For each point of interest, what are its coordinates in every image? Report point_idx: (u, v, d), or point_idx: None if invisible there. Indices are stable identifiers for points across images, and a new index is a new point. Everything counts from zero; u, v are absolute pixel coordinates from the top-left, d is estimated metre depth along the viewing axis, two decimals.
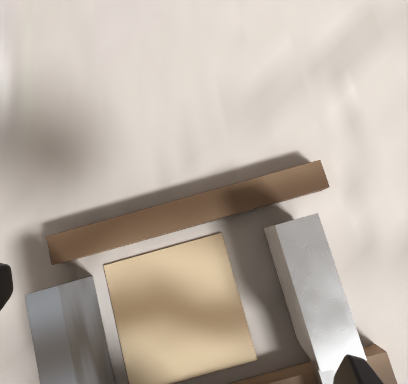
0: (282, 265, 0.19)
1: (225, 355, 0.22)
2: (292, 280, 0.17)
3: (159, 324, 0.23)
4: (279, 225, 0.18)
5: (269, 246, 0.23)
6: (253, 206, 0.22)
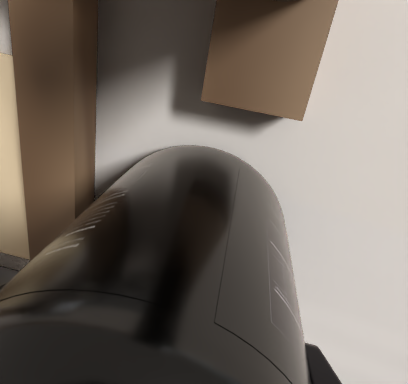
0: None
1: None
2: None
3: None
4: None
5: None
6: None
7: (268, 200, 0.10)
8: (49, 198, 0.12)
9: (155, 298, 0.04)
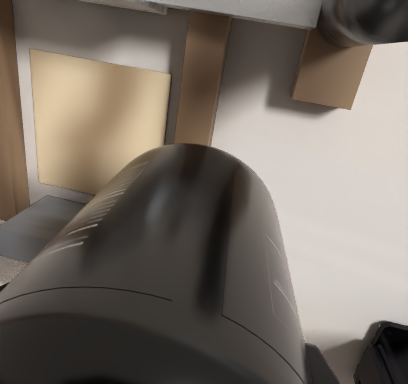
0: None
1: (154, 107, 0.20)
2: None
3: (105, 157, 0.22)
4: None
5: None
6: None
7: (262, 196, 0.10)
8: None
9: (164, 293, 0.04)
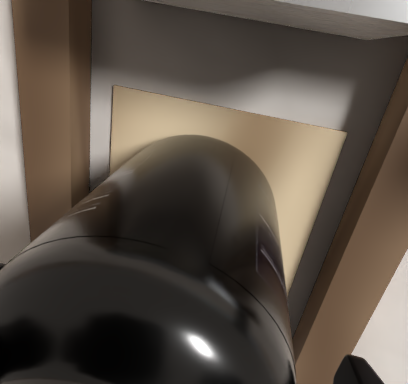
0: None
1: (307, 178, 0.12)
2: None
3: None
4: None
5: (165, 3, 0.11)
6: None
7: (260, 183, 0.11)
8: (367, 267, 0.12)
9: (161, 243, 0.05)
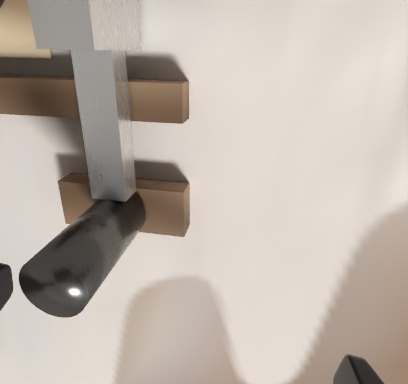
0: None
1: (15, 41, 0.18)
2: None
3: None
4: None
5: None
6: None
7: None
8: None
9: None
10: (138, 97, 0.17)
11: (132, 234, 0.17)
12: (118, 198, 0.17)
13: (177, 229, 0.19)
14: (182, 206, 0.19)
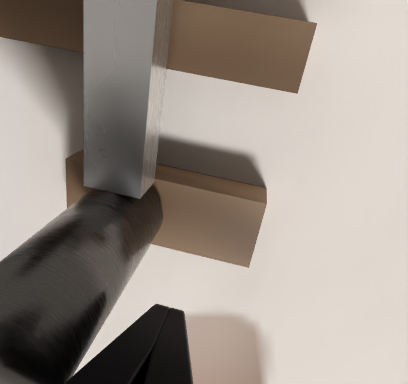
0: None
1: None
2: None
3: None
4: None
5: None
6: None
7: None
8: None
9: None
10: (232, 37, 0.10)
11: (143, 253, 0.11)
12: (128, 192, 0.11)
13: (241, 255, 0.13)
14: (259, 224, 0.12)
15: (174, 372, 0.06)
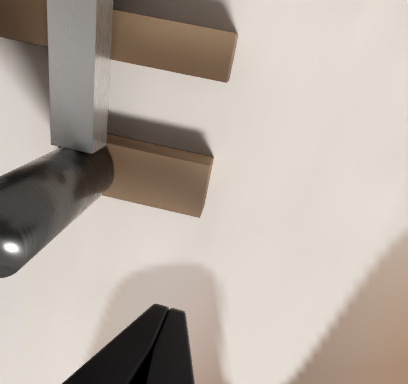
0: None
1: None
2: None
3: None
4: None
5: None
6: None
7: None
8: None
9: None
10: (179, 42, 0.14)
11: (94, 194, 0.15)
12: (83, 148, 0.14)
13: (194, 208, 0.17)
14: (205, 182, 0.16)
15: (175, 372, 0.06)
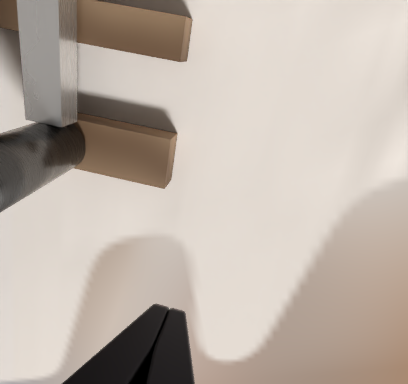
0: None
1: None
2: None
3: None
4: None
5: None
6: None
7: None
8: None
9: None
10: (136, 25, 0.15)
11: (64, 163, 0.16)
12: (53, 122, 0.16)
13: (158, 179, 0.18)
14: (167, 154, 0.18)
15: (175, 372, 0.06)
